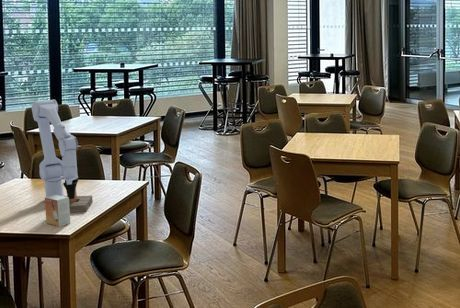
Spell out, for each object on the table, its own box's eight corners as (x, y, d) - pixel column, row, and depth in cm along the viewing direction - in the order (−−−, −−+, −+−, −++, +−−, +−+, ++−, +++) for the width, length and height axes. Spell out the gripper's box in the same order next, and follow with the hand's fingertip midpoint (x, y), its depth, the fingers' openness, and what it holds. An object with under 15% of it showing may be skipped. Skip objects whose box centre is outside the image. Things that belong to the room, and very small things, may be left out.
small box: (46, 223, 250) (44, 197, 248) (58, 220, 255) (56, 194, 253) (59, 227, 245) (57, 200, 243) (71, 223, 250) (69, 197, 248)
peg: (67, 204, 274) (66, 183, 272) (77, 203, 275) (76, 183, 273) (67, 206, 270) (65, 186, 268) (77, 206, 271) (75, 185, 269)
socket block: (60, 203, 280) (59, 196, 280) (92, 202, 281) (92, 195, 280) (51, 213, 264) (51, 206, 264) (86, 212, 265) (85, 205, 264)
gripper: (61, 163, 276) (64, 193, 278) (58, 169, 262) (60, 202, 264) (78, 162, 277) (80, 192, 279) (75, 168, 263) (78, 201, 265)
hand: (72, 197), depth 272 cm, fingers closed on peg, 4 cm apart
